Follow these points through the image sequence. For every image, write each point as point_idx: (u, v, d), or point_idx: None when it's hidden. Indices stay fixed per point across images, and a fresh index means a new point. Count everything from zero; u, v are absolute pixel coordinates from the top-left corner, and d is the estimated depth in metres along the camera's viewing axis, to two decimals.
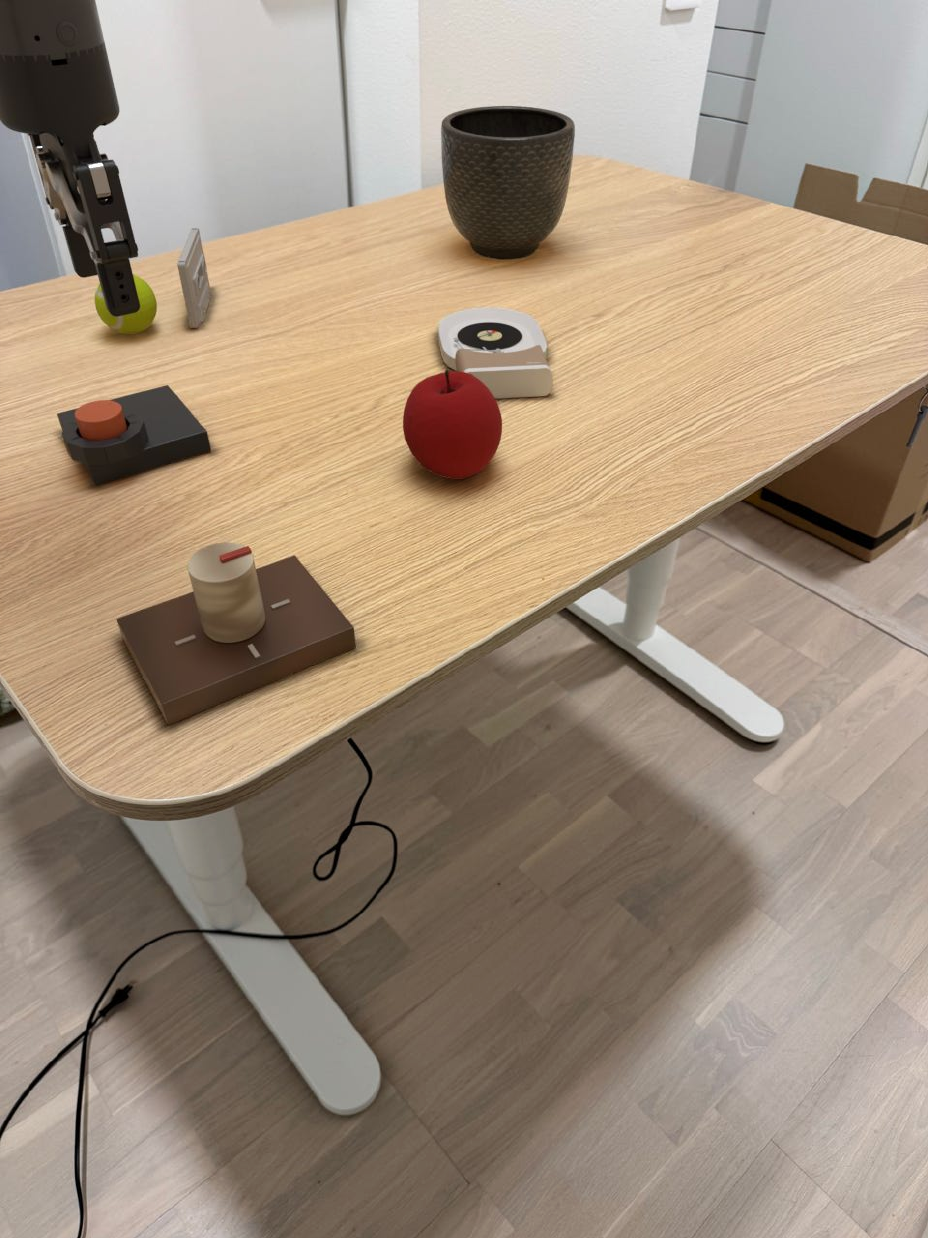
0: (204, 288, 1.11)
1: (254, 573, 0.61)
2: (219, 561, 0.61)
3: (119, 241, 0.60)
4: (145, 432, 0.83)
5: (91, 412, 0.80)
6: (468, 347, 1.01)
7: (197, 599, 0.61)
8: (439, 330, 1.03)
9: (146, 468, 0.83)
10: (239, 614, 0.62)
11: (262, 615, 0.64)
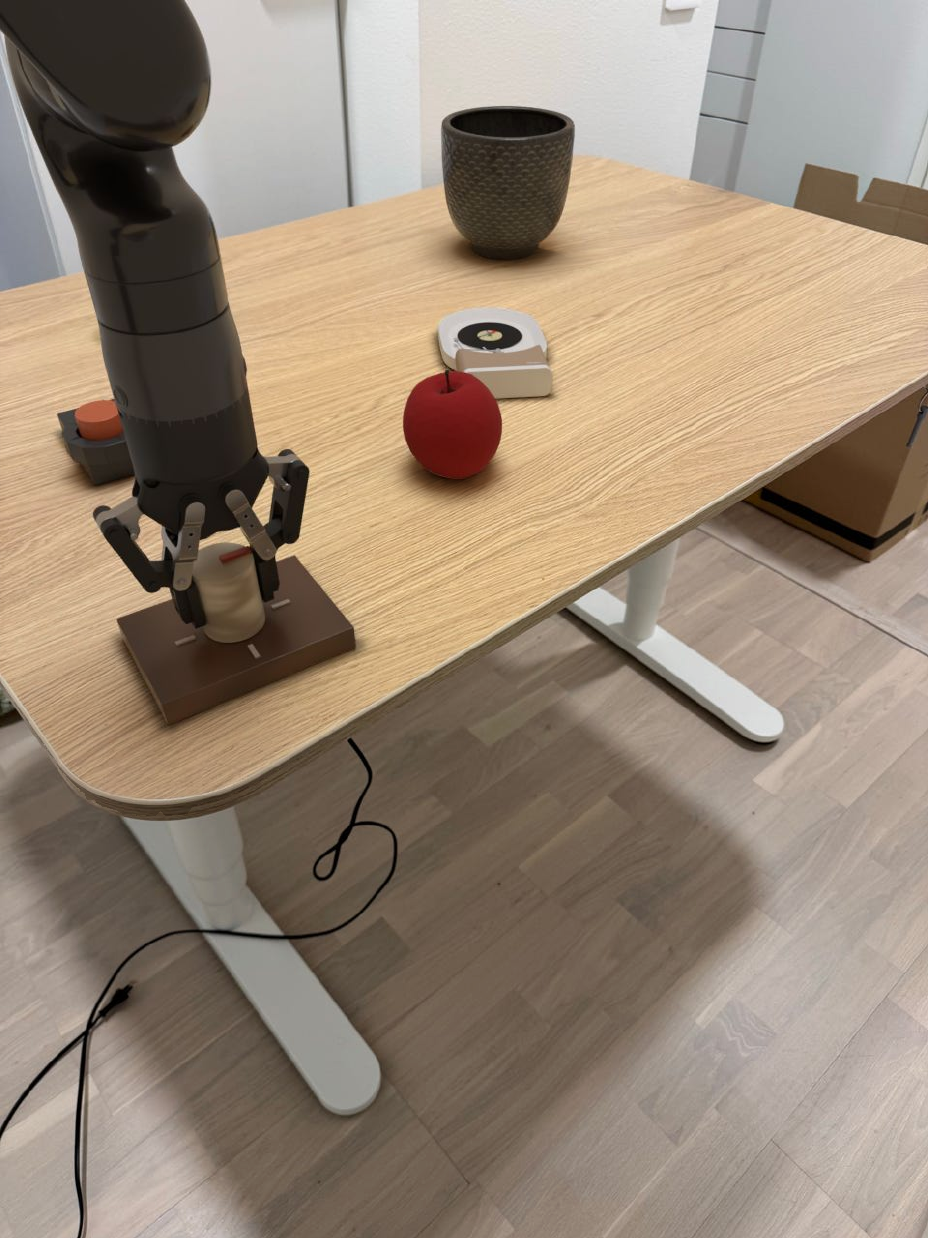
0: None
1: (254, 573, 0.61)
2: (219, 561, 0.61)
3: None
4: None
5: (91, 412, 0.80)
6: (468, 347, 1.01)
7: None
8: (439, 330, 1.03)
9: None
10: (239, 614, 0.62)
11: (262, 615, 0.64)
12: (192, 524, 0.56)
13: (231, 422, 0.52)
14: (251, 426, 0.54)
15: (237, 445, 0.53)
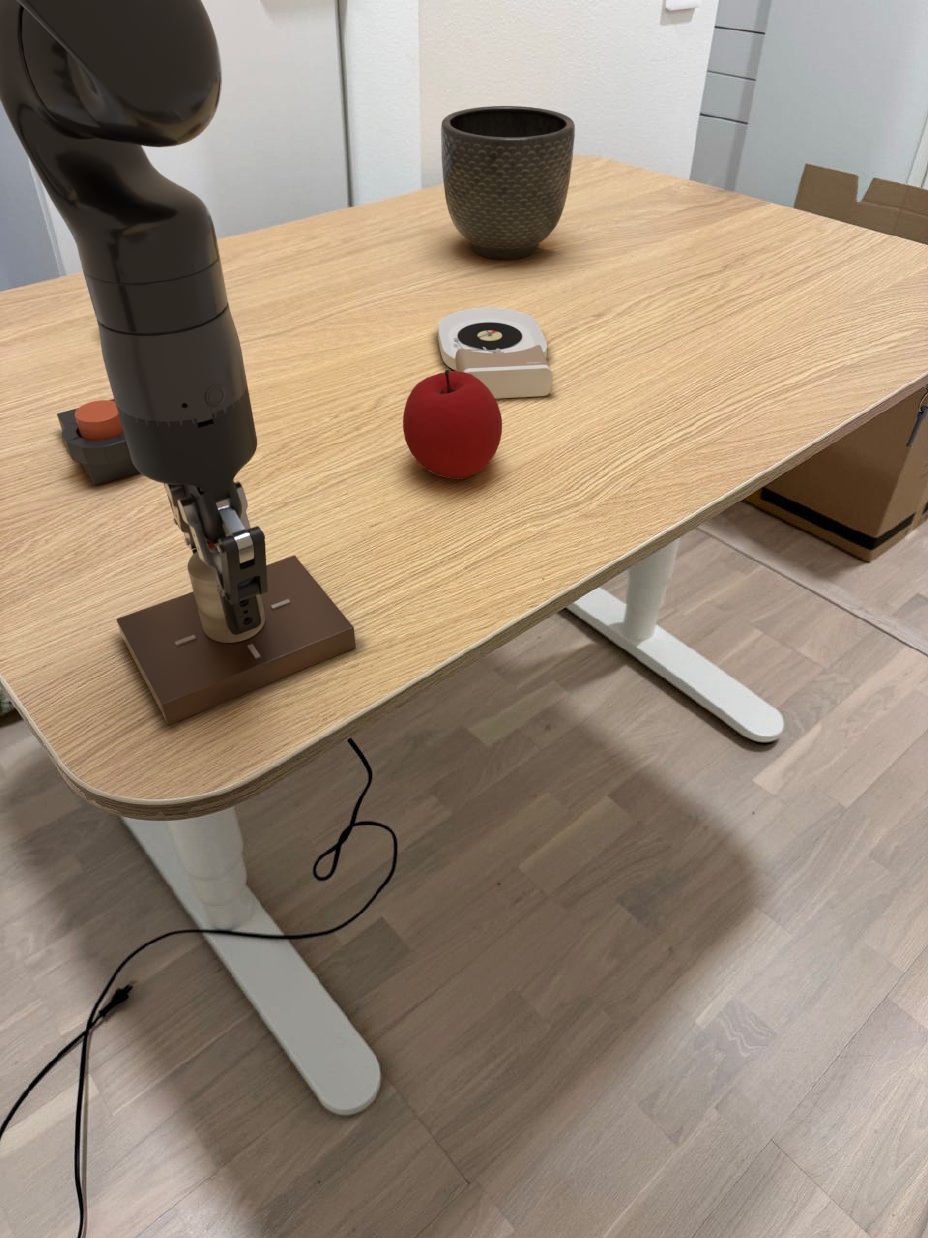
0: None
1: None
2: None
3: (249, 581, 0.57)
4: None
5: (91, 412, 0.80)
6: (468, 347, 1.01)
7: None
8: (439, 330, 1.03)
9: None
10: None
11: None
12: None
13: None
14: None
15: None
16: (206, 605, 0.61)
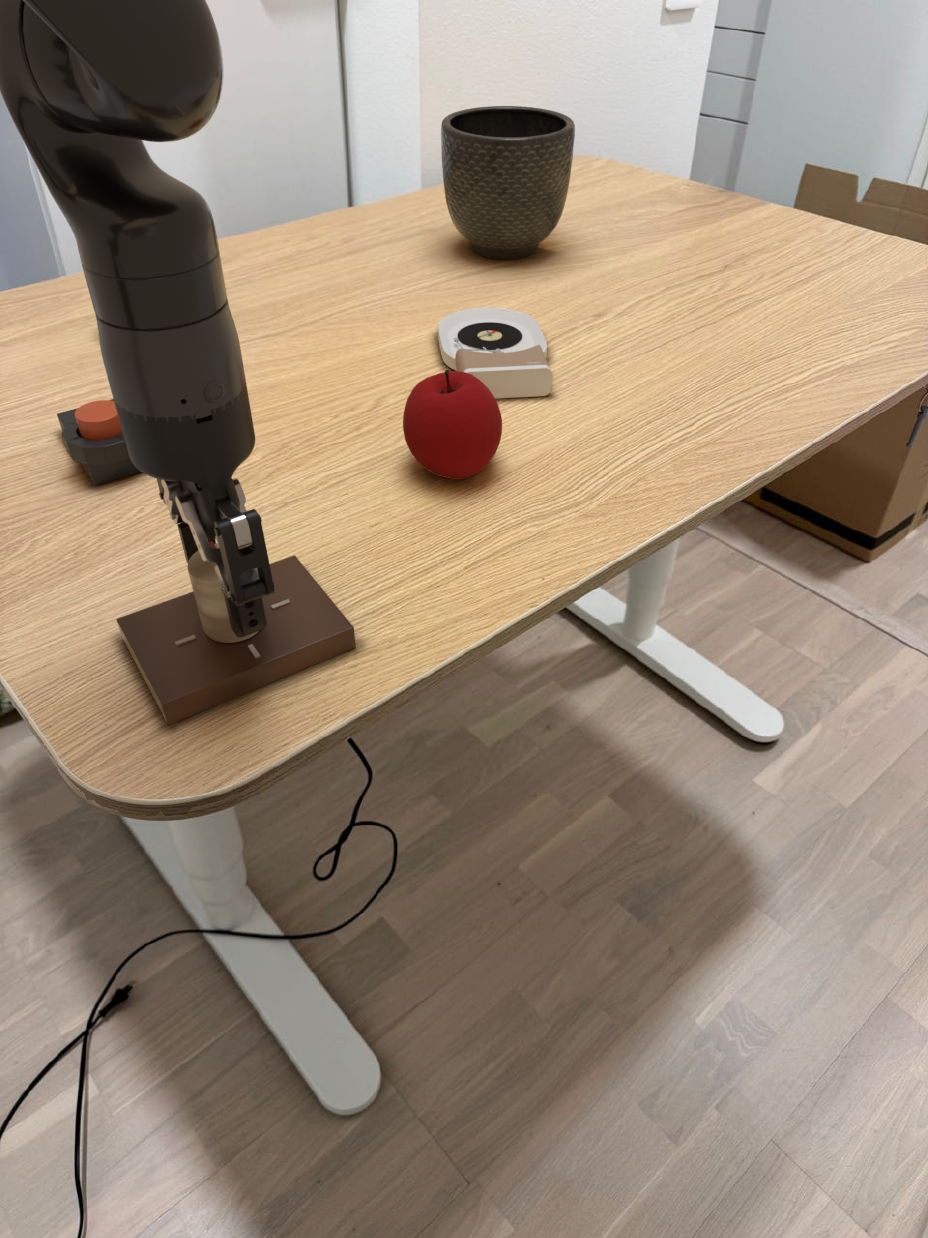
0: None
1: None
2: None
3: (256, 582, 0.55)
4: None
5: (91, 412, 0.80)
6: (468, 347, 1.01)
7: None
8: (439, 330, 1.03)
9: None
10: None
11: None
12: None
13: None
14: None
15: None
16: (205, 605, 0.61)
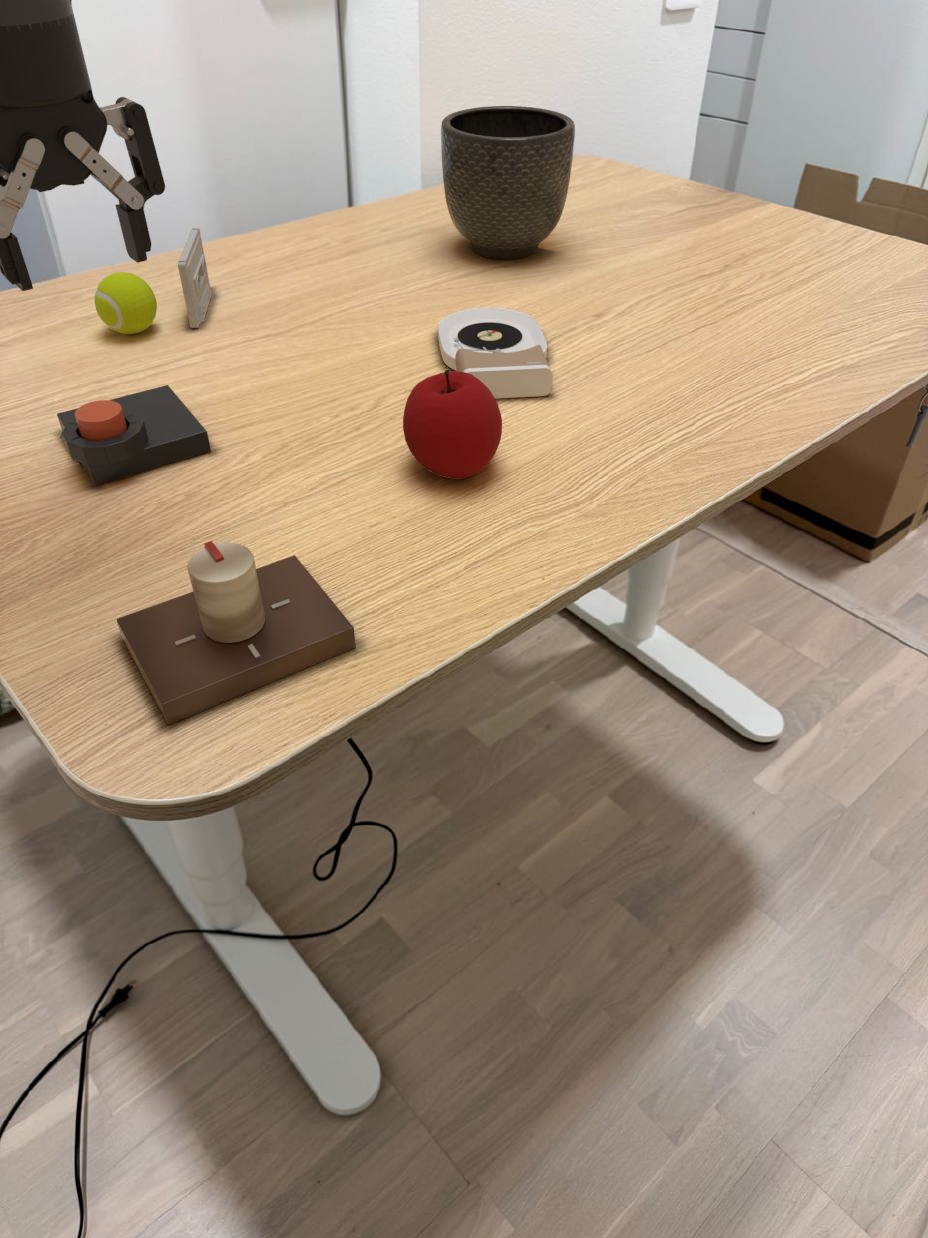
0: (204, 288, 1.11)
1: None
2: (219, 561, 0.61)
3: None
4: (145, 432, 0.83)
5: (91, 412, 0.80)
6: (468, 347, 1.01)
7: (242, 601, 0.61)
8: (439, 330, 1.03)
9: (146, 468, 0.83)
10: None
11: None
12: (33, 164, 0.59)
13: (58, 39, 0.55)
14: (81, 58, 0.58)
15: (67, 68, 0.56)
16: (205, 605, 0.61)
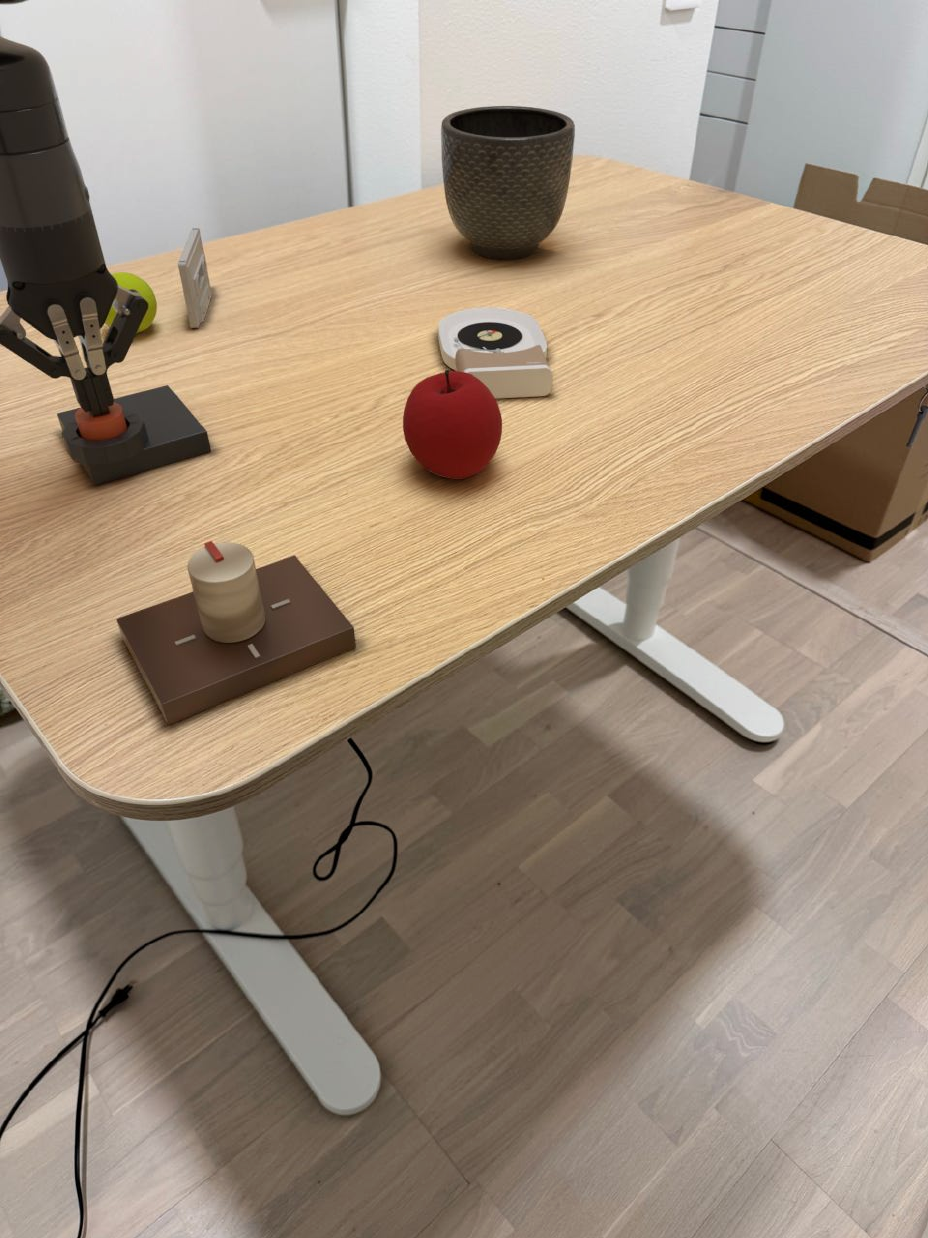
0: (205, 288, 1.11)
1: None
2: (219, 561, 0.61)
3: None
4: (145, 432, 0.83)
5: None
6: (468, 347, 1.01)
7: (242, 601, 0.61)
8: (439, 330, 1.03)
9: (146, 468, 0.83)
10: None
11: None
12: (54, 323, 0.73)
13: (75, 233, 0.68)
14: (95, 242, 0.71)
15: (82, 254, 0.69)
16: (205, 605, 0.61)
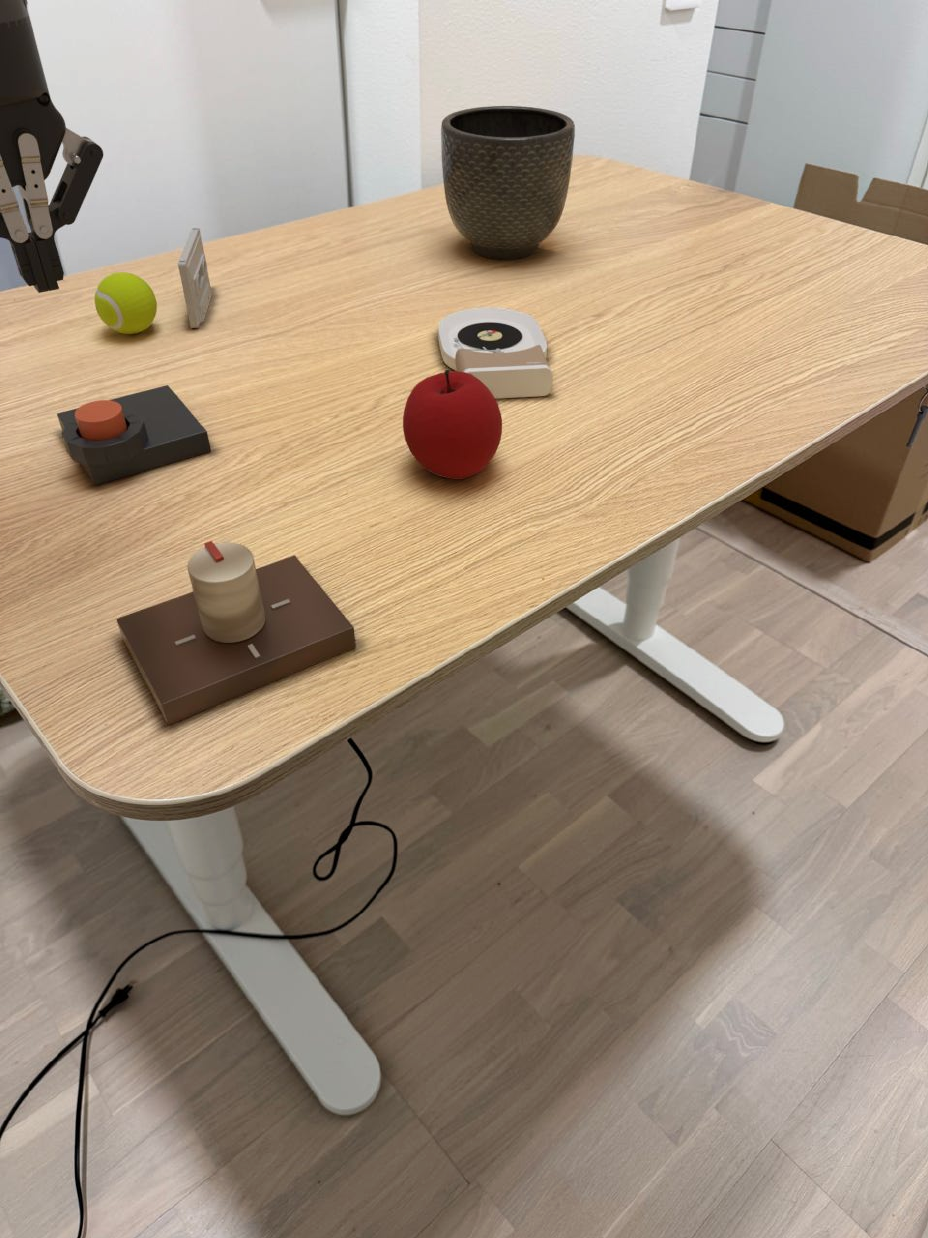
0: (205, 288, 1.11)
1: None
2: (219, 561, 0.61)
3: None
4: (145, 432, 0.83)
5: (91, 412, 0.80)
6: (468, 347, 1.01)
7: (242, 601, 0.61)
8: (439, 330, 1.03)
9: (146, 468, 0.83)
10: None
11: None
12: None
13: (7, 41, 0.56)
14: (35, 60, 0.58)
15: (17, 70, 0.57)
16: (205, 605, 0.61)
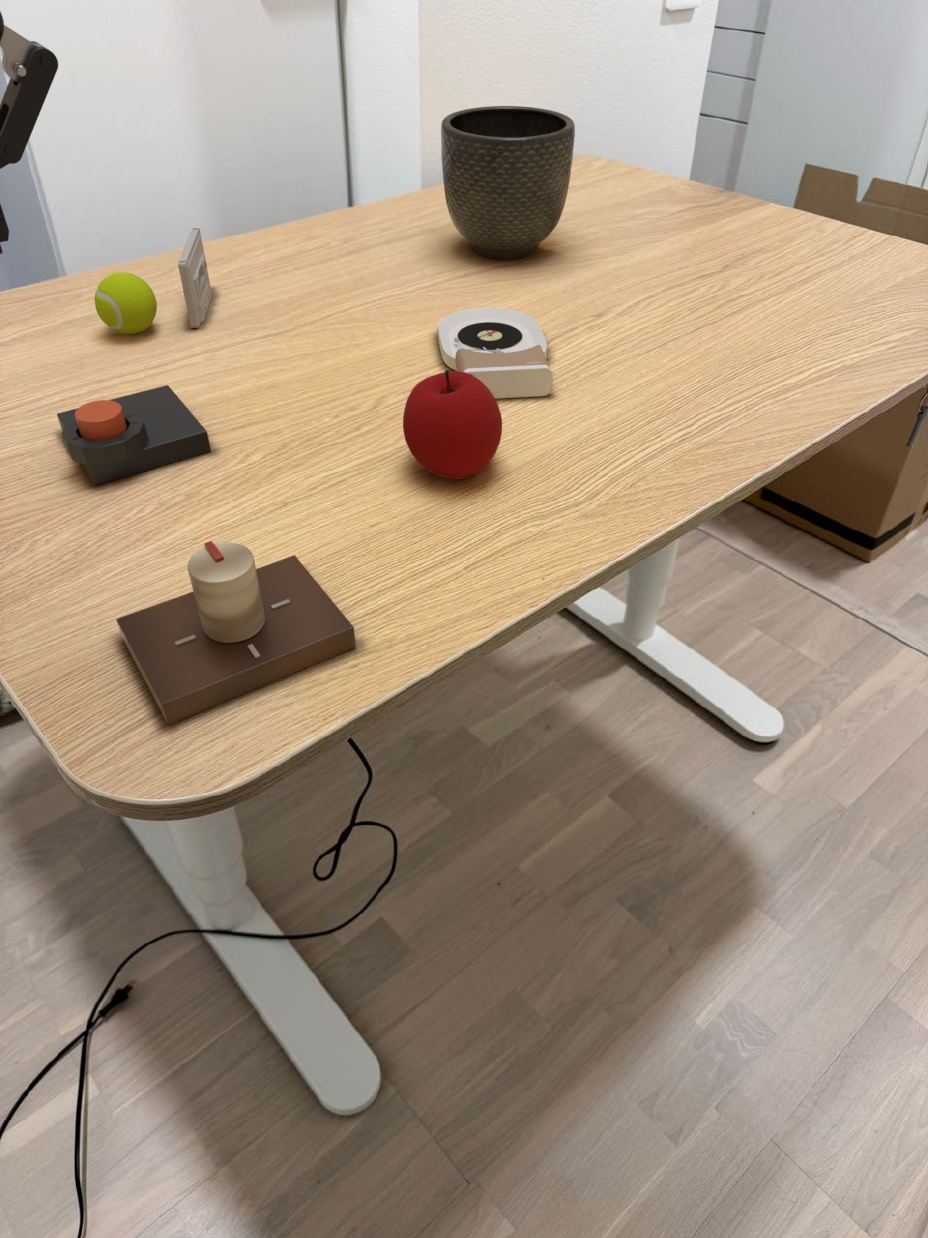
0: (205, 288, 1.11)
1: None
2: (219, 561, 0.61)
3: None
4: (145, 432, 0.83)
5: (91, 412, 0.80)
6: (468, 347, 1.01)
7: (242, 601, 0.61)
8: (439, 330, 1.03)
9: (146, 468, 0.83)
10: None
11: None
12: None
13: None
14: None
15: None
16: (205, 605, 0.61)
